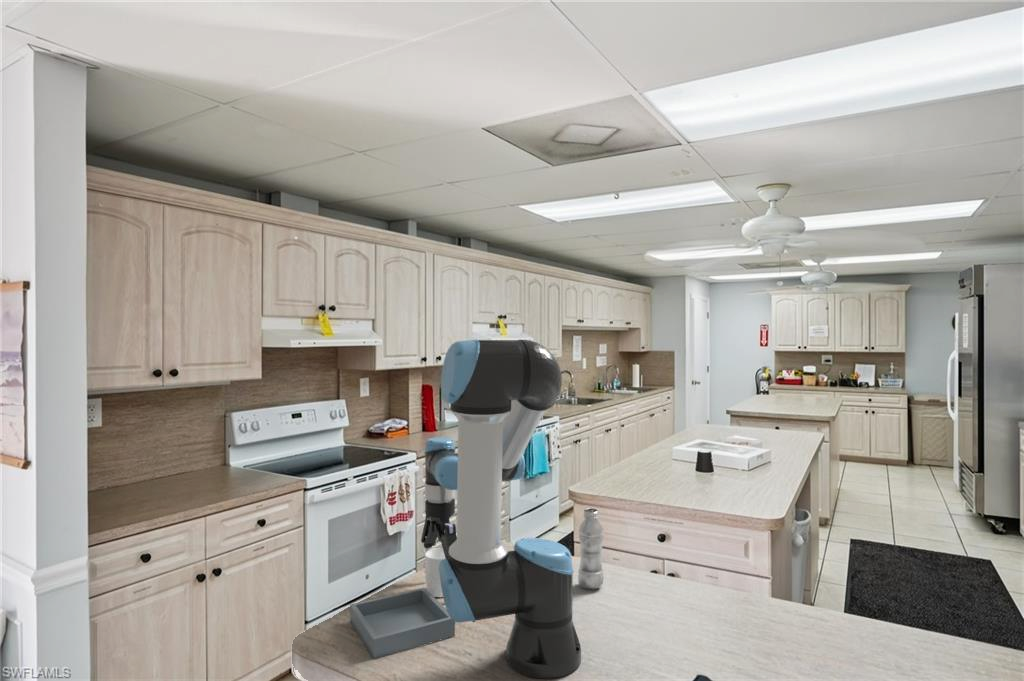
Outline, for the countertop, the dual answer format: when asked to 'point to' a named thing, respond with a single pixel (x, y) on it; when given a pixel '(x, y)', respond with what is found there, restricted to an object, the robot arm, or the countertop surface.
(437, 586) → the white cup
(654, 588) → the countertop surface
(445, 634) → the bin
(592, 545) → the plastic bottle
